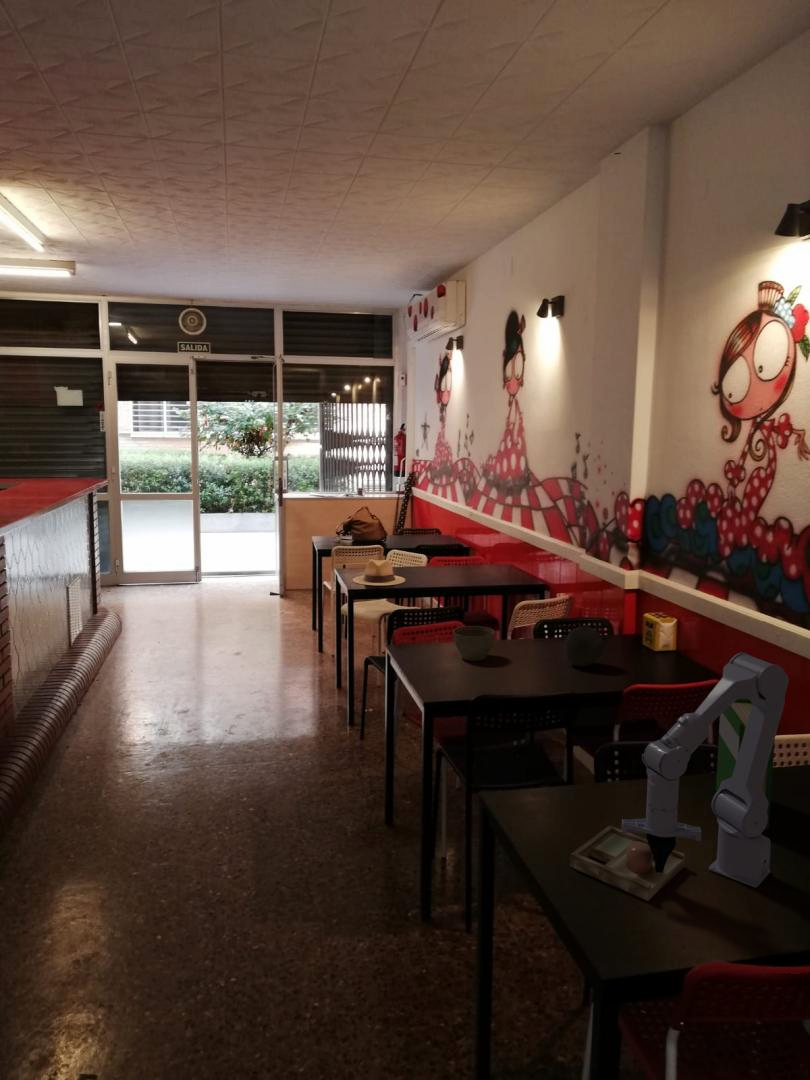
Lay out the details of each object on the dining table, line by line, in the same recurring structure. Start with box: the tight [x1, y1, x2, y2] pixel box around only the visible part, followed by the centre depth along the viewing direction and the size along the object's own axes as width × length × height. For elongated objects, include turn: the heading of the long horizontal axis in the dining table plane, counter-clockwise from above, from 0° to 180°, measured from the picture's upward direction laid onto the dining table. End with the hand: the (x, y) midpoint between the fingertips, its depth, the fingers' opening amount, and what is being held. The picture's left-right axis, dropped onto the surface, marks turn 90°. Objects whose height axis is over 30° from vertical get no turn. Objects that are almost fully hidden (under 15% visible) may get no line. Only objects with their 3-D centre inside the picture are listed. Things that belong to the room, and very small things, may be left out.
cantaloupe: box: [563, 626, 605, 668], centre depth 293 cm, size 14×14×15 cm
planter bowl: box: [452, 625, 496, 662], centre depth 304 cm, size 16×16×11 cm
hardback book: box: [715, 698, 776, 830], centre depth 181 cm, size 18×7×24 cm, turn 171°
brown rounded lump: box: [626, 842, 654, 874], centre depth 154 cm, size 5×5×4 cm
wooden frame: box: [569, 825, 686, 902], centre depth 158 cm, size 17×16×3 cm
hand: (659, 869), depth 151 cm, fingers closed
